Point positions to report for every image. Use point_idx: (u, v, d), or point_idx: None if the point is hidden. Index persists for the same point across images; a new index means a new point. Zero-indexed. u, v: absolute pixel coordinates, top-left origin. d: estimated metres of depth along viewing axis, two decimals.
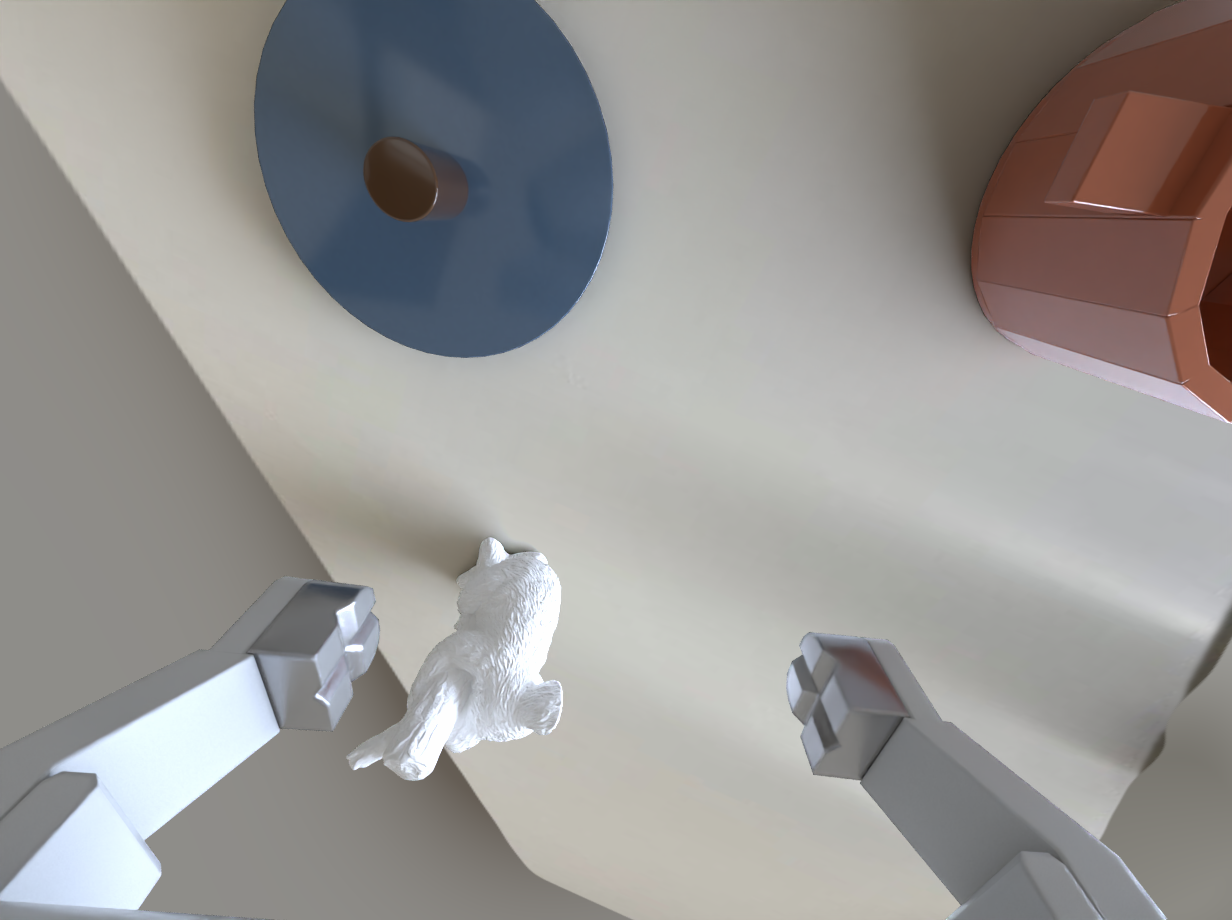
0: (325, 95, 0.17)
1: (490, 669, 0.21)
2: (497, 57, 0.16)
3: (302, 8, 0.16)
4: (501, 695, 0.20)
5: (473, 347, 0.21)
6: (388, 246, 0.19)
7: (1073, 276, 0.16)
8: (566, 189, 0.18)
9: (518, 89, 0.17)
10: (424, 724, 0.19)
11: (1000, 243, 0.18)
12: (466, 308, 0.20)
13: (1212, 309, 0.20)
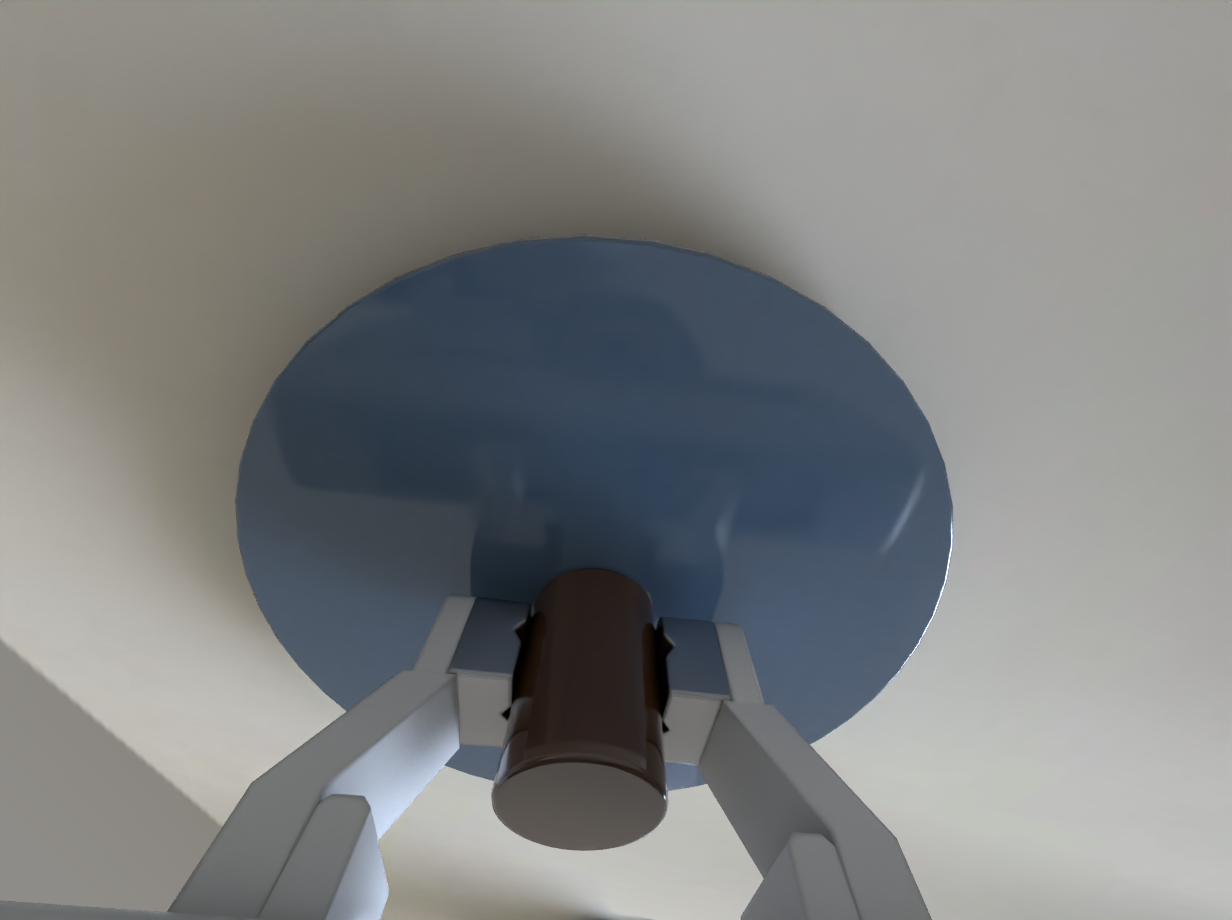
0: (383, 491, 0.08)
1: None
2: (760, 439, 0.07)
3: (341, 358, 0.07)
4: None
5: None
6: None
7: None
8: (842, 619, 0.09)
9: (791, 486, 0.08)
10: None
11: None
12: None
13: None
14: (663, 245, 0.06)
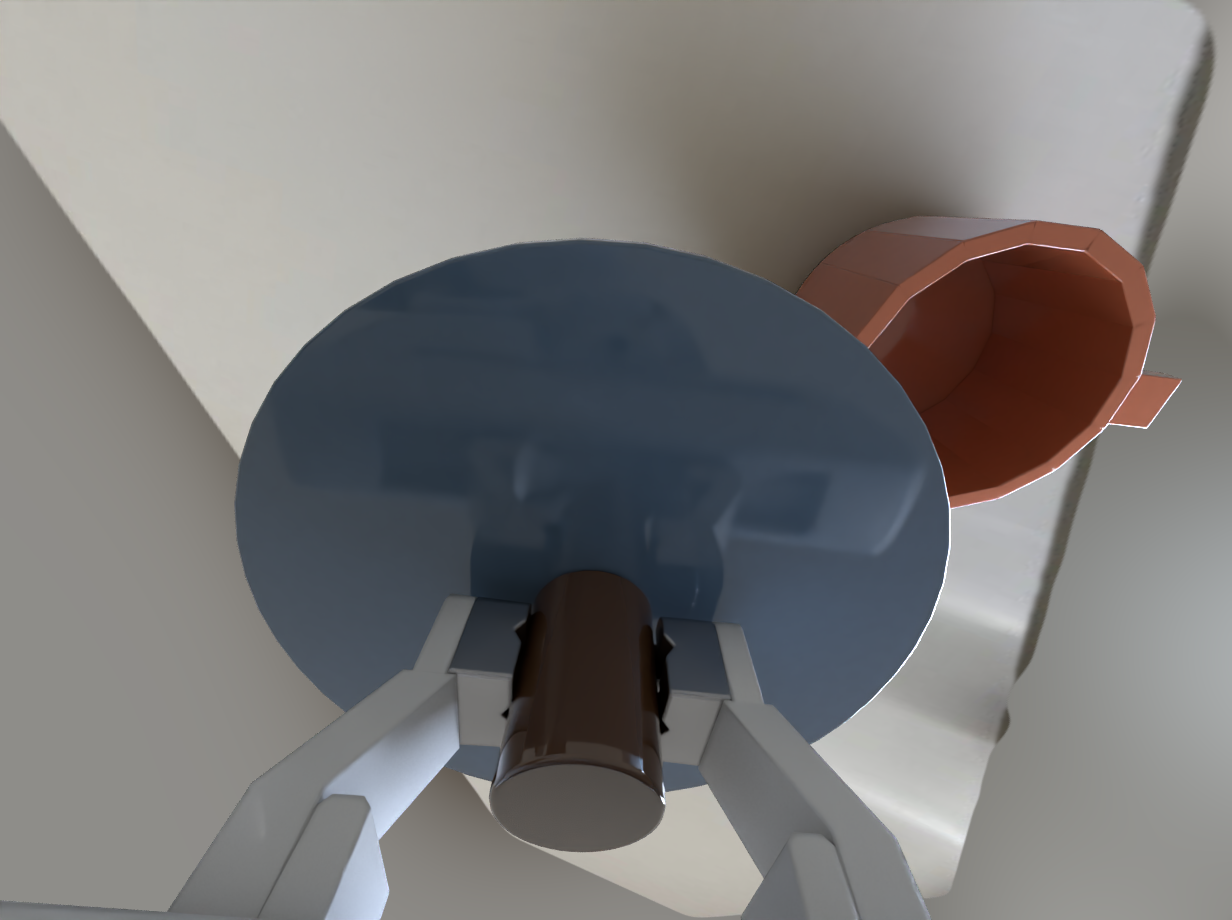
0: (382, 493, 0.08)
1: None
2: (758, 442, 0.08)
3: (340, 360, 0.07)
4: None
5: None
6: None
7: None
8: (840, 621, 0.09)
9: (789, 488, 0.08)
10: None
11: None
12: None
13: (946, 407, 0.28)
14: (661, 248, 0.06)
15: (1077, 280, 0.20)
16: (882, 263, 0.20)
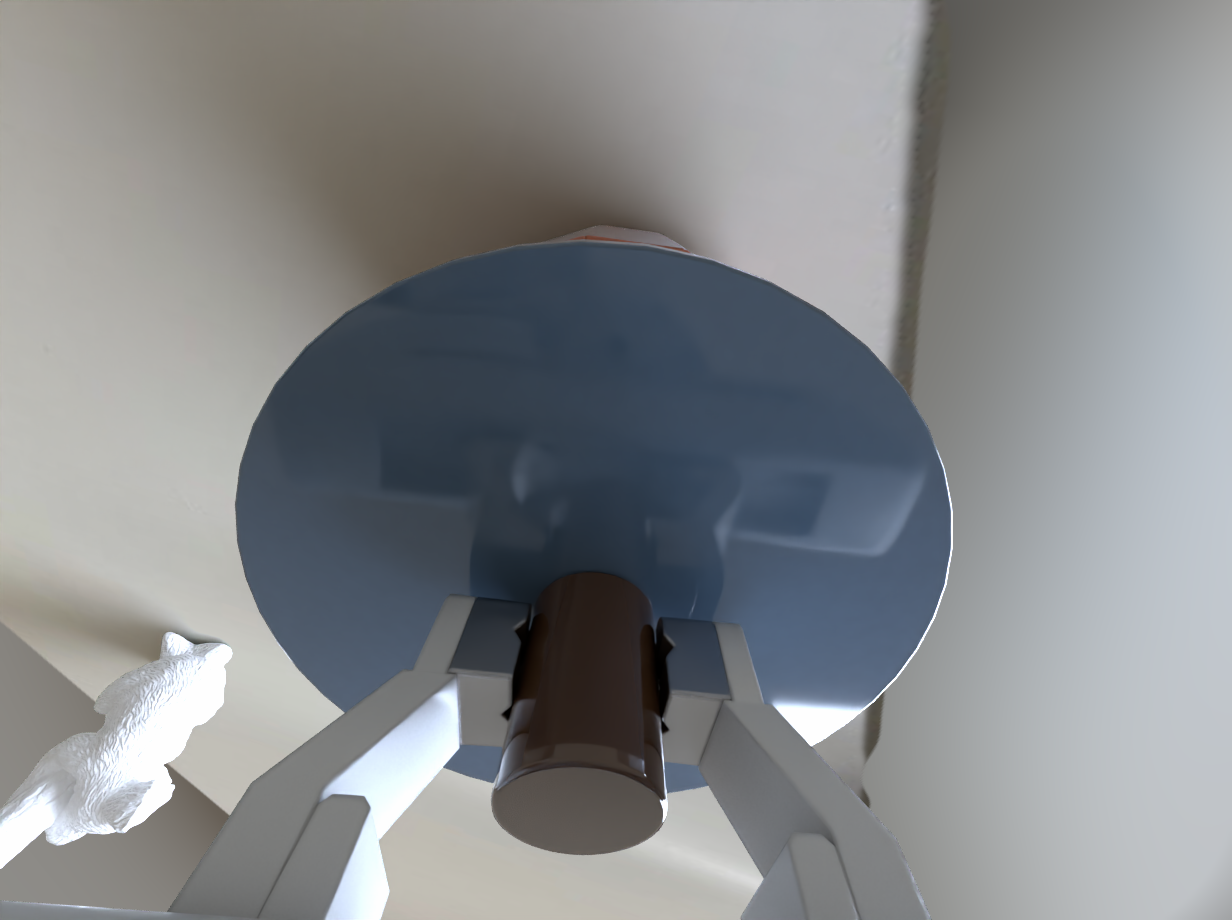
0: (383, 495, 0.08)
1: (85, 773, 0.24)
2: (761, 443, 0.07)
3: (341, 362, 0.07)
4: (88, 797, 0.23)
5: None
6: None
7: None
8: (842, 622, 0.09)
9: (791, 490, 0.08)
10: None
11: None
12: None
13: None
14: (663, 250, 0.06)
15: None
16: None
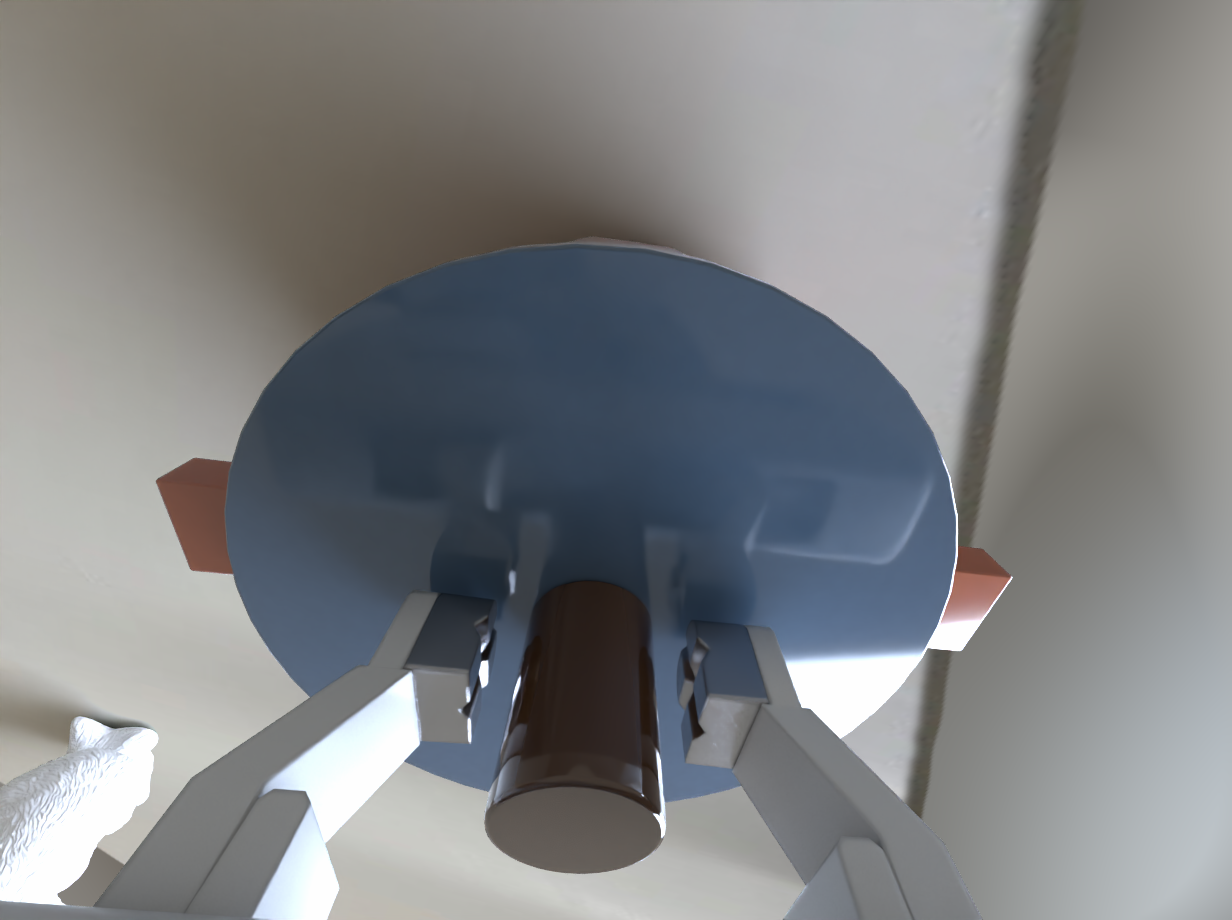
0: (376, 502, 0.08)
1: None
2: (761, 450, 0.07)
3: (331, 367, 0.07)
4: None
5: None
6: (482, 693, 0.10)
7: None
8: (844, 631, 0.09)
9: (792, 498, 0.08)
10: None
11: None
12: None
13: None
14: (661, 253, 0.06)
15: None
16: None
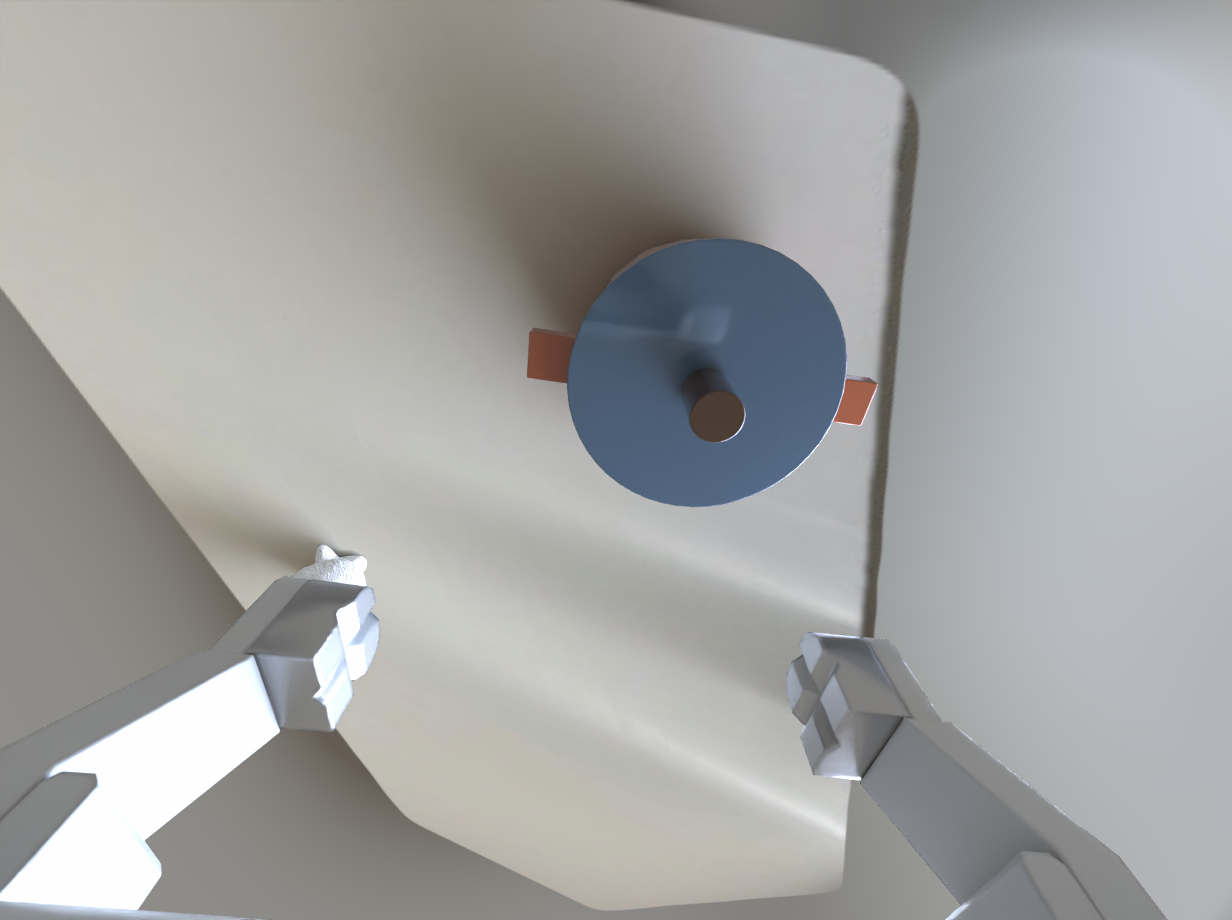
0: (634, 331, 0.22)
1: None
2: (774, 311, 0.21)
3: (634, 277, 0.21)
4: None
5: (701, 500, 0.26)
6: (653, 430, 0.24)
7: None
8: (805, 395, 0.23)
9: (785, 331, 0.22)
10: None
11: None
12: (703, 473, 0.25)
13: None
14: (746, 241, 0.20)
15: None
16: None
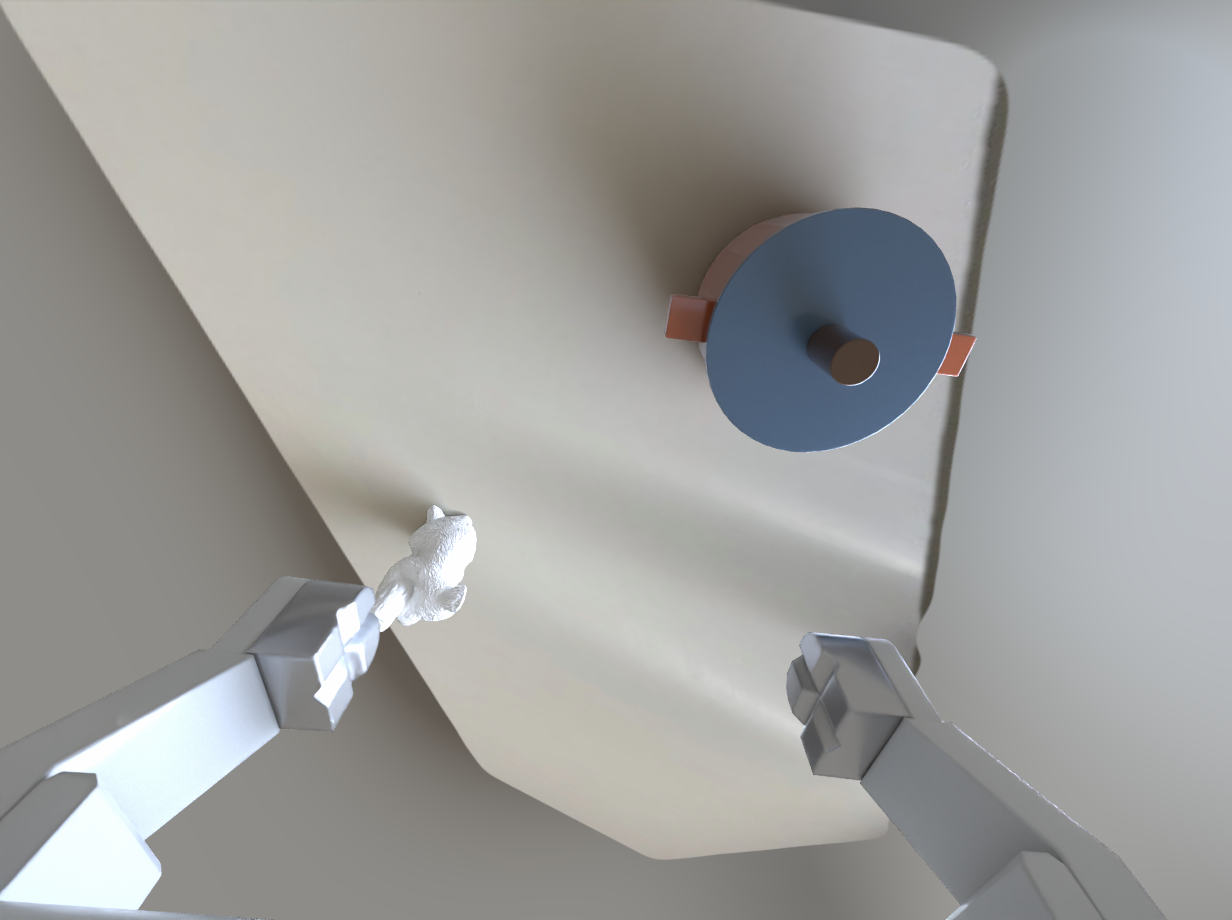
0: (772, 292, 0.25)
1: (424, 576, 0.36)
2: (897, 271, 0.24)
3: (777, 244, 0.24)
4: (429, 590, 0.35)
5: (813, 445, 0.29)
6: (778, 381, 0.27)
7: None
8: (916, 347, 0.26)
9: (904, 289, 0.25)
10: (383, 602, 0.34)
11: None
12: (818, 420, 0.28)
13: None
14: (878, 210, 0.23)
15: None
16: (750, 246, 0.27)
